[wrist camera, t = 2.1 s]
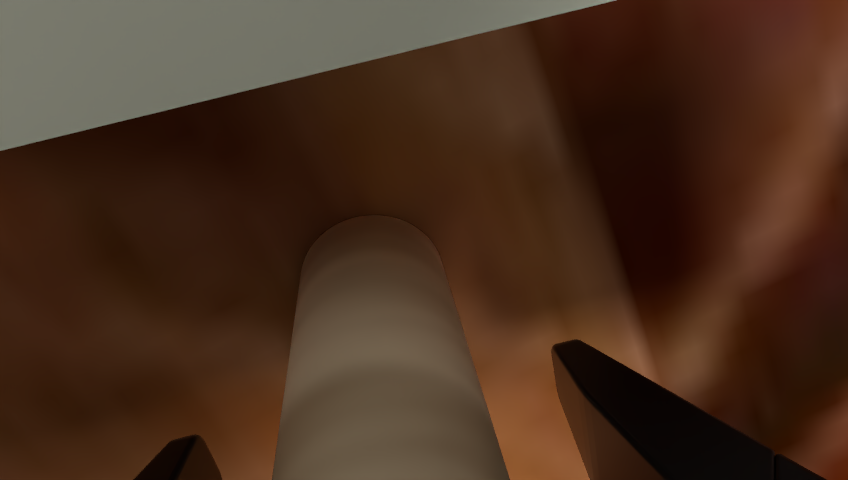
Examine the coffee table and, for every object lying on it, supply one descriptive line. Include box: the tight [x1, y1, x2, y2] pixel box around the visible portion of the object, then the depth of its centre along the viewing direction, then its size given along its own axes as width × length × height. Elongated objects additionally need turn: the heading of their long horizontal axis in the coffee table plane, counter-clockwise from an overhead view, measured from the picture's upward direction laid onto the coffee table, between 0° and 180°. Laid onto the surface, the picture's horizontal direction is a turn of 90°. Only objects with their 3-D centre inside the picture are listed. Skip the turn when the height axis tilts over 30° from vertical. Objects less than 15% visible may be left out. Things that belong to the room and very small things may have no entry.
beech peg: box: [272, 215, 510, 480], centre depth 8 cm, size 3×3×10 cm
